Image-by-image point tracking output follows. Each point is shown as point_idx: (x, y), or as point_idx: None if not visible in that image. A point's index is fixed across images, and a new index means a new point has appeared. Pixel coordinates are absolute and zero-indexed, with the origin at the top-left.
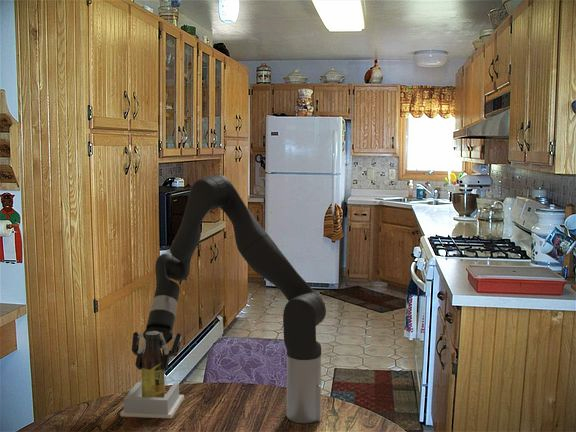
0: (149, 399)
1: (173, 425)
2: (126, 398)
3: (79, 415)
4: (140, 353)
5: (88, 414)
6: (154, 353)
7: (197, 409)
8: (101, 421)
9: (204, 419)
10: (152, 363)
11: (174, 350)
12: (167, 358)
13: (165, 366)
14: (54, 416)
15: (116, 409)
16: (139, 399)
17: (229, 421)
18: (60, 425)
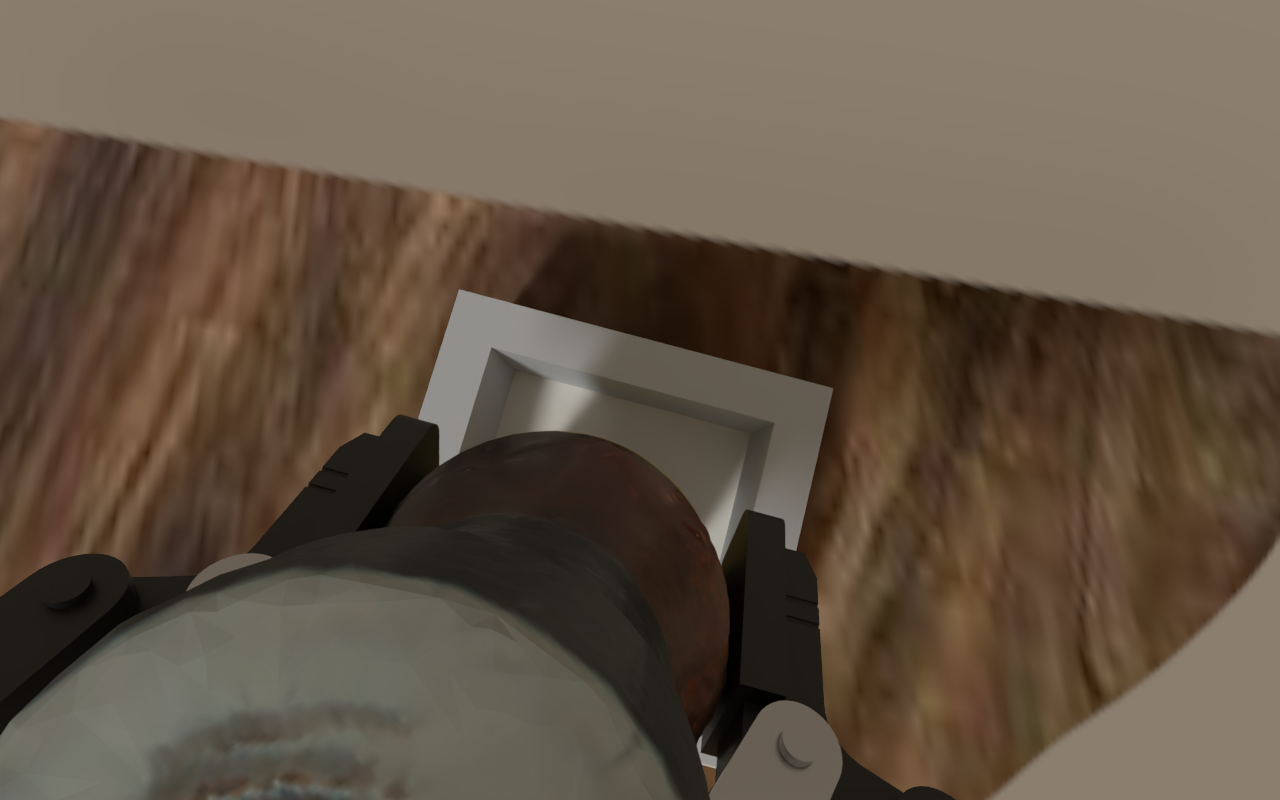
0: (610, 330)
1: (459, 222)
2: (808, 385)
3: (1104, 479)
4: (770, 705)
5: (1045, 485)
6: (476, 492)
7: (282, 434)
8: (933, 359)
9: (252, 271)
10: (545, 438)
11: (40, 588)
12: (283, 523)
13: (367, 434)
14: (1274, 493)
15: (862, 536)
16: (695, 352)
17: (94, 215)
18: (1189, 346)
